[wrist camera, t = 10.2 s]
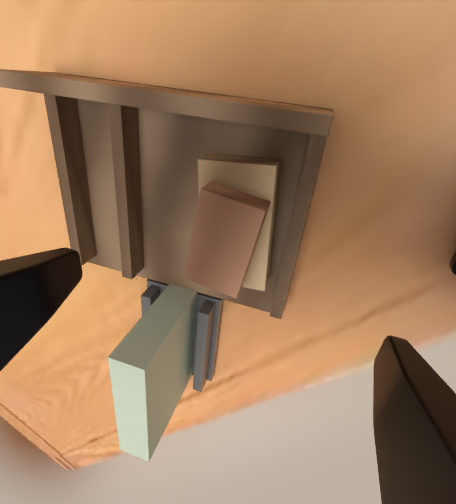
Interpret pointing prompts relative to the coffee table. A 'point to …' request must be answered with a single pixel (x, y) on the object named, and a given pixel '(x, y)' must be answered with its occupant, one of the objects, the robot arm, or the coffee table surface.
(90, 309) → the coffee table surface
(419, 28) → the coffee table surface
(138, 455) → the panel
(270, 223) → the offcut
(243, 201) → the offcut
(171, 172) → the rack
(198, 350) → the stand
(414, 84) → the coffee table surface
